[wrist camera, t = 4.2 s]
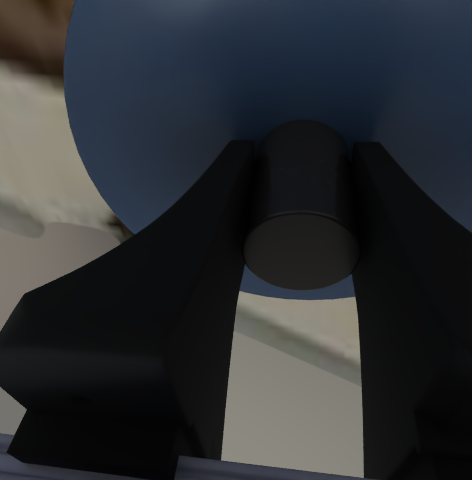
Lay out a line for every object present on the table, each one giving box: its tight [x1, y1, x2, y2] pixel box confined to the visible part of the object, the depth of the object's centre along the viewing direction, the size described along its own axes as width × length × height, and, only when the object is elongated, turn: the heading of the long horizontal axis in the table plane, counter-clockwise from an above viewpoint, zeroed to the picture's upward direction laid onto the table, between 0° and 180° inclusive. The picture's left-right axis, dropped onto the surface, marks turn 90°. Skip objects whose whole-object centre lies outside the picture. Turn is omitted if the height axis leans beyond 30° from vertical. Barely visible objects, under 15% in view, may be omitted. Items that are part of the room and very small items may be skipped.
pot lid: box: [64, 0, 472, 300], centre depth 10 cm, size 13×13×5 cm
